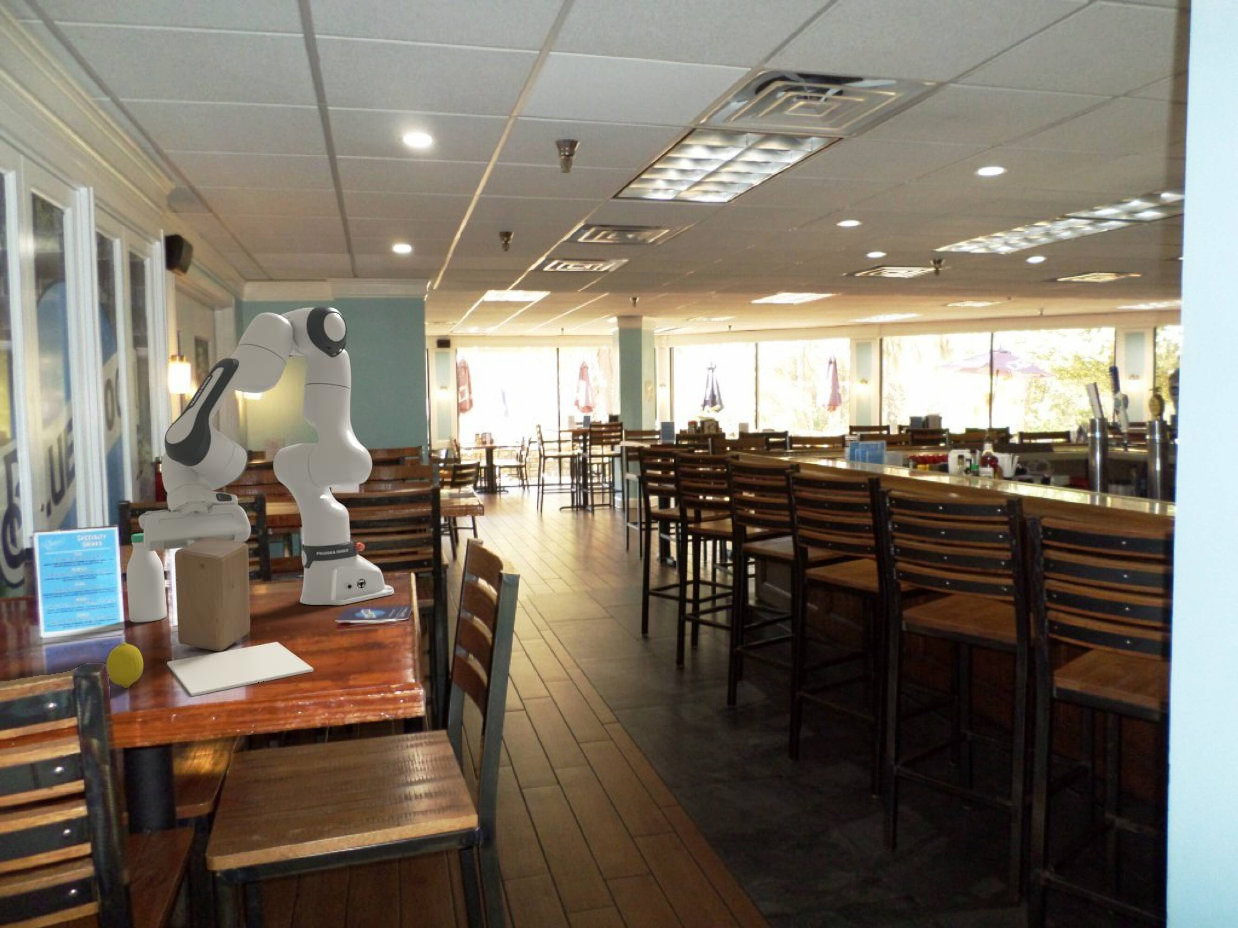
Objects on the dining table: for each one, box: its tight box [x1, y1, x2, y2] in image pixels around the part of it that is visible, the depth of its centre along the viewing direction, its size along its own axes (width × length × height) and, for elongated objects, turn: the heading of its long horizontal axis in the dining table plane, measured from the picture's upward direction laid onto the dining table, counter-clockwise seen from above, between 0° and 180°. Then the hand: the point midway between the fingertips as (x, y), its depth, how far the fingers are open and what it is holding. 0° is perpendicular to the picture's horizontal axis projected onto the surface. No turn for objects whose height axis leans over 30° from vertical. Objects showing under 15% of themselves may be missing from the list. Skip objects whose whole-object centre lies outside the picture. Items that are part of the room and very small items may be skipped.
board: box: [166, 641, 314, 697], centre depth 160 cm, size 20×24×1 cm
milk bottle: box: [126, 532, 168, 623], centre depth 202 cm, size 8×8×20 cm
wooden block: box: [174, 537, 251, 652], centre depth 174 cm, size 10×10×20 cm
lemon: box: [106, 642, 144, 689], centre depth 150 cm, size 6×6×8 cm
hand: (204, 559), depth 178 cm, fingers closed
